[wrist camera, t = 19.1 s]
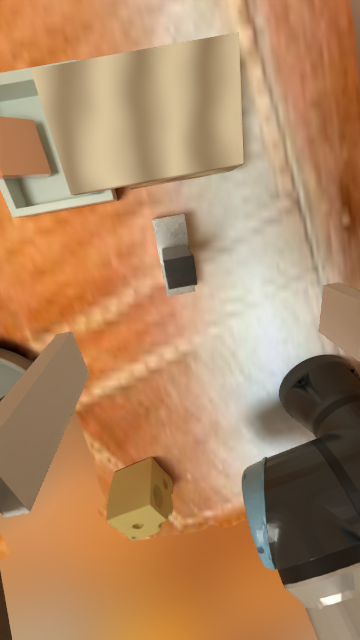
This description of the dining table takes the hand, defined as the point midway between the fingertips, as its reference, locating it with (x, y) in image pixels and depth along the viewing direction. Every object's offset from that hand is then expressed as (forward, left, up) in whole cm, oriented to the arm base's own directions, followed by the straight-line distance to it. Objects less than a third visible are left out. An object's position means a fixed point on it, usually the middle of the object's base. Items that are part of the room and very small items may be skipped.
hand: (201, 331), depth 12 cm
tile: (+14, -14, -21) cm, 29 cm away
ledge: (+1, -14, -24) cm, 28 cm away
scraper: (0, 0, -24) cm, 24 cm away
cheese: (+16, +49, -24) cm, 57 cm away
